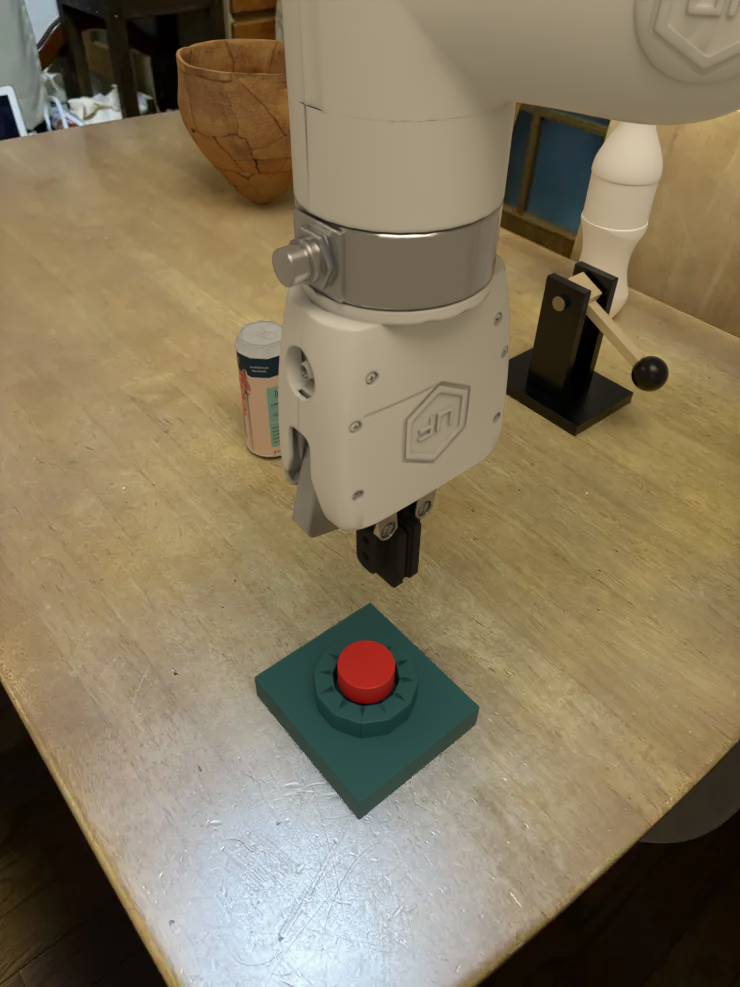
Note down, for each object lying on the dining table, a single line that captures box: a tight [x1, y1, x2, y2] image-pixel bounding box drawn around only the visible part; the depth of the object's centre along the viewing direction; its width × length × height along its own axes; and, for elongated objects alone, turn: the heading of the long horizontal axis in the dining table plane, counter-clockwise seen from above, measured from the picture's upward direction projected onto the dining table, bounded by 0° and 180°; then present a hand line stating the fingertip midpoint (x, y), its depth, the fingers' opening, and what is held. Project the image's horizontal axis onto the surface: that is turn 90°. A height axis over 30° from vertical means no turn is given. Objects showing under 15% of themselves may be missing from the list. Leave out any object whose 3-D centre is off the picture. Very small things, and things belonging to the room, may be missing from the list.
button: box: [337, 640, 395, 704], centre depth 47 cm, size 4×4×2 cm
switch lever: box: [567, 272, 670, 393], centre depth 69 cm, size 13×3×3 cm, turn 40°
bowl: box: [175, 38, 293, 205], centre depth 105 cm, size 21×20×20 cm
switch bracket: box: [506, 261, 634, 437], centre depth 73 cm, size 12×9×13 cm
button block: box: [253, 602, 480, 820], centre depth 49 cm, size 11×10×4 cm
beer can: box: [234, 320, 282, 458], centre depth 66 cm, size 5×5×12 cm
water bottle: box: [569, 121, 664, 319], centre depth 81 cm, size 7×7×25 cm
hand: (387, 565), depth 41 cm, fingers closed
